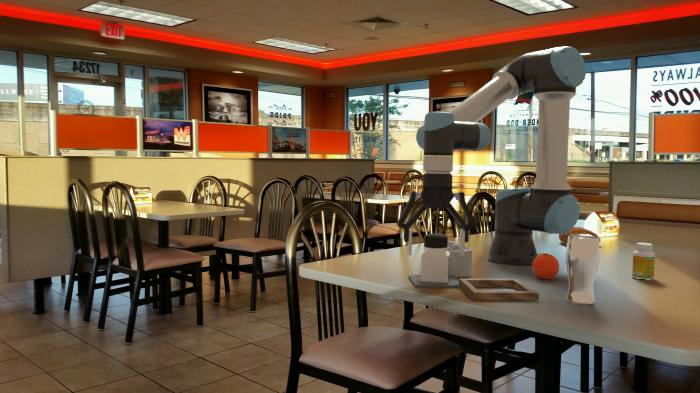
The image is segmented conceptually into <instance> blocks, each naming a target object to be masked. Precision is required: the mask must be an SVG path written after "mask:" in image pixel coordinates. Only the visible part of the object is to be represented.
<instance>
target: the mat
mask: <svg viewBox="0 0 700 393" xmlns="http://www.w3.org/2000/svg"><path fill="white" fill-rule="evenodd" d="M408 279H409V280H410V281H411V283H412V285H413V286H414V287H415V288H435V289H436V288H438V289H439V288H441V289H442V288H444V289H445V288H447V289H452V288H453V289H455V288H457V289H458V288H459V289H460V288H461V285H460V284H459V279H457V277H454V276H453V275H449V283H431V282H421V281H420V280H421V274H409V275H408ZM461 289H462V288H461Z"/></svg>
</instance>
